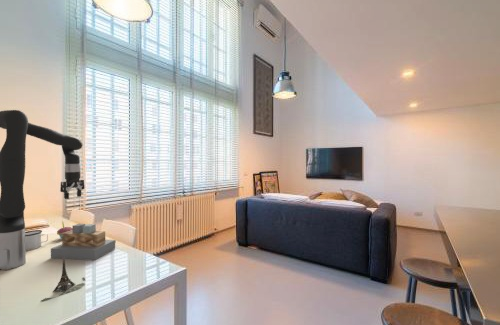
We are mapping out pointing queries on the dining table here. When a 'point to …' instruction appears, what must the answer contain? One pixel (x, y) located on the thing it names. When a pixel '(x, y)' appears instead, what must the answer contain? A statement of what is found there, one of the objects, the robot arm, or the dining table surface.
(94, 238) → the brown wooden box
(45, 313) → the dining table surface
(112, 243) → the dock
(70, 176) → the robot arm
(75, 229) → the grey cube
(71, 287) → the eiffel tower figurine
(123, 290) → the dining table surface
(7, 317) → the dining table surface
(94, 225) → the crate
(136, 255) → the dining table surface
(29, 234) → the mug
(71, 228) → the cupcake
